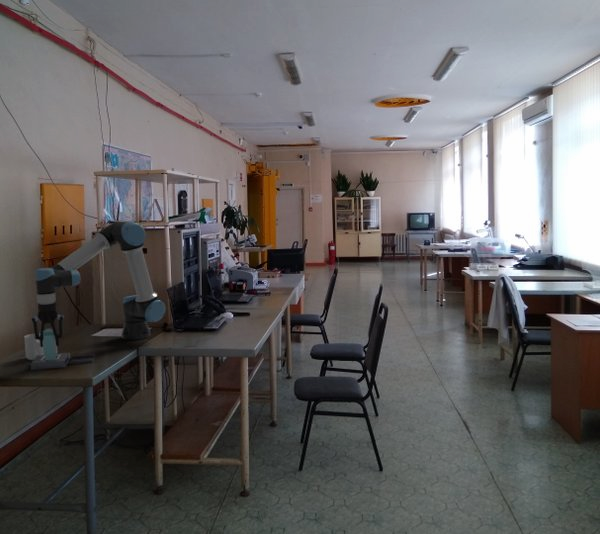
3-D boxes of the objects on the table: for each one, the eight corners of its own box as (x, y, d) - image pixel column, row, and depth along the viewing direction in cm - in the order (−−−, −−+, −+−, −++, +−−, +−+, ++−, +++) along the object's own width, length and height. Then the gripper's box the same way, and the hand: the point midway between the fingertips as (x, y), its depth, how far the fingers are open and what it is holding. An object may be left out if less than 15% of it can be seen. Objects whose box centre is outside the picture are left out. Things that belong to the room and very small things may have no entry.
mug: (24, 357, 264) (22, 335, 263) (44, 354, 269) (42, 332, 268) (29, 363, 254) (27, 339, 253) (49, 359, 260) (48, 336, 258)
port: (70, 359, 259) (69, 352, 258) (65, 368, 245) (64, 360, 245) (38, 362, 255) (37, 354, 255) (31, 371, 242) (30, 363, 242)
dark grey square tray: (95, 357, 261) (94, 354, 261) (92, 363, 252) (92, 359, 251) (72, 359, 259) (72, 355, 259) (69, 365, 249) (68, 361, 249)
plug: (56, 358, 252) (54, 328, 251) (55, 360, 248) (52, 330, 247) (47, 358, 251) (44, 329, 250) (45, 361, 247) (42, 331, 246)
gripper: (68, 300, 252) (71, 349, 255) (28, 302, 249) (32, 352, 251) (65, 303, 245) (69, 353, 248) (24, 305, 241) (28, 357, 244)
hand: (50, 353), depth 250 cm, fingers closed on plug, 4 cm apart
